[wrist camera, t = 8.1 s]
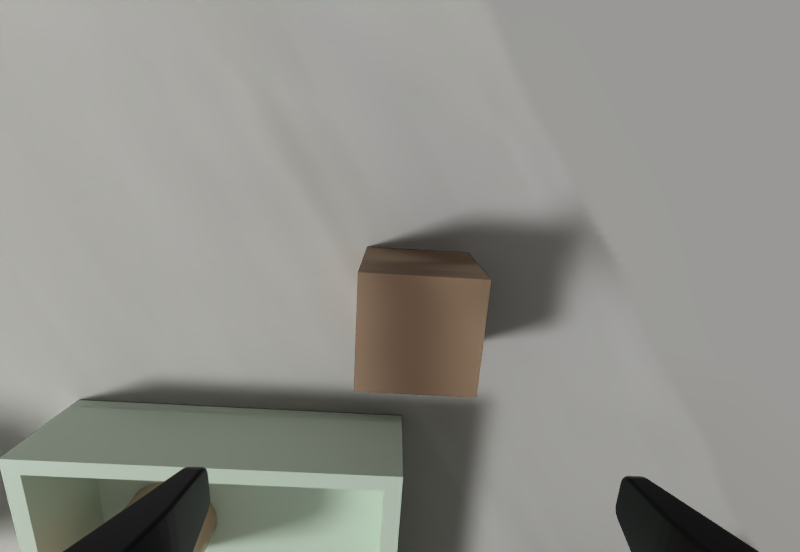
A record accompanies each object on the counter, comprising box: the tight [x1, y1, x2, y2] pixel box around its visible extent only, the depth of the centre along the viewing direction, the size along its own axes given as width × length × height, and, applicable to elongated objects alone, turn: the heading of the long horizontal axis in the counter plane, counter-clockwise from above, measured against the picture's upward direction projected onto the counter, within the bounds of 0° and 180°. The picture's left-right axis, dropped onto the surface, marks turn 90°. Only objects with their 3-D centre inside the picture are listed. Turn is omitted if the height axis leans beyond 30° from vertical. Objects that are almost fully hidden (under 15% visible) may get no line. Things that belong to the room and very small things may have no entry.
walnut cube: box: [354, 247, 491, 397], centre depth 18 cm, size 5×5×5 cm
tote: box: [0, 400, 403, 552], centre depth 21 cm, size 18×14×4 cm
